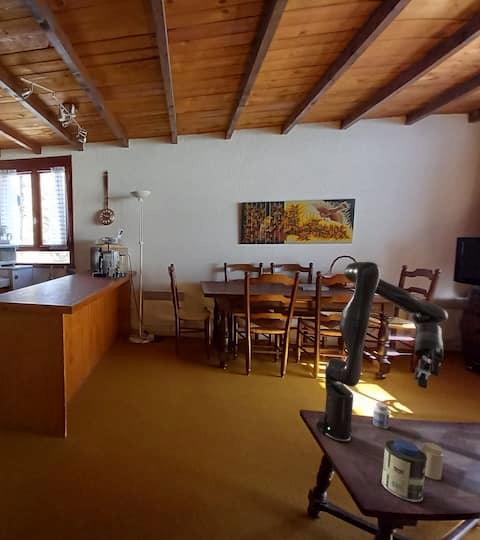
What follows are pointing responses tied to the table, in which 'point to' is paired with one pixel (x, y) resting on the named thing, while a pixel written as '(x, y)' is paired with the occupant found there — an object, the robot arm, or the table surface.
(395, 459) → the coffee can
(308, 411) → the table surface
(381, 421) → the pill bottle
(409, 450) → the lid
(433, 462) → the jar
